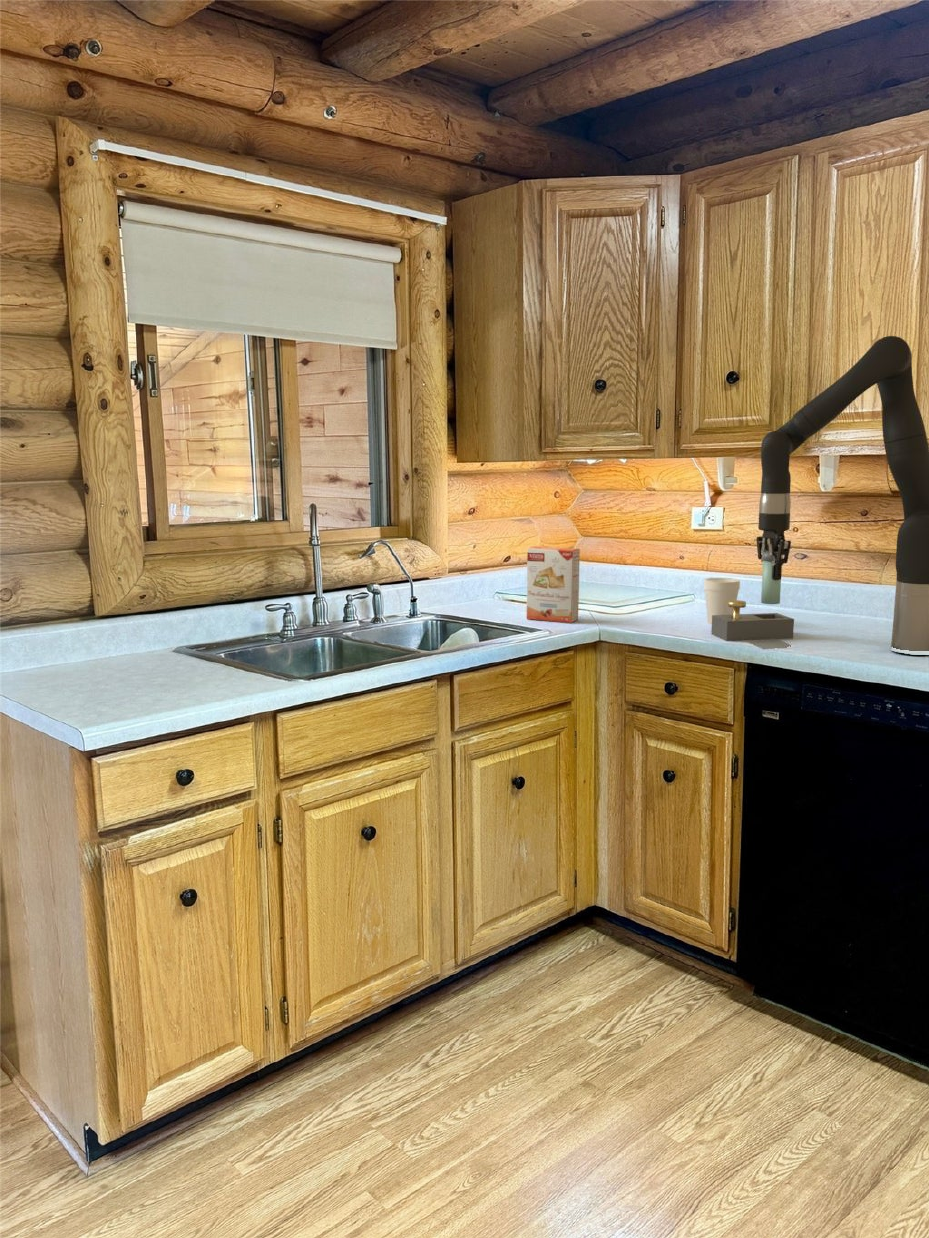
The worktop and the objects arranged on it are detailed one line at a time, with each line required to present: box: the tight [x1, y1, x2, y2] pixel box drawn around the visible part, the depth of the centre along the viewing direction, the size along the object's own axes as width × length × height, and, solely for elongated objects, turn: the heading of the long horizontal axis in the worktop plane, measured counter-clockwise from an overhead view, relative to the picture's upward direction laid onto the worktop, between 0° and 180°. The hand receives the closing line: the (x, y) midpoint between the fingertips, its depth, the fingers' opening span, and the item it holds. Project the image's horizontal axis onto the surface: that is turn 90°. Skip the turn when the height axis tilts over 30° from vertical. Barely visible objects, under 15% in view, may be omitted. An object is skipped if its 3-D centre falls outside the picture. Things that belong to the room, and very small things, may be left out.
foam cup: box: [703, 577, 741, 625], centre depth 264 cm, size 10×9×13 cm
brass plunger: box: [728, 599, 747, 619], centre depth 245 cm, size 4×4×9 cm
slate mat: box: [745, 639, 792, 650], centre depth 236 cm, size 9×9×1 cm
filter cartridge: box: [760, 551, 782, 605], centre depth 244 cm, size 5×5×13 cm
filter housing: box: [710, 612, 795, 642], centre depth 246 cm, size 18×9×6 cm, turn 100°
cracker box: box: [526, 545, 581, 624], centre depth 273 cm, size 14×6×21 cm, turn 62°
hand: (771, 578), depth 244 cm, fingers closed on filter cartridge, 4 cm apart
